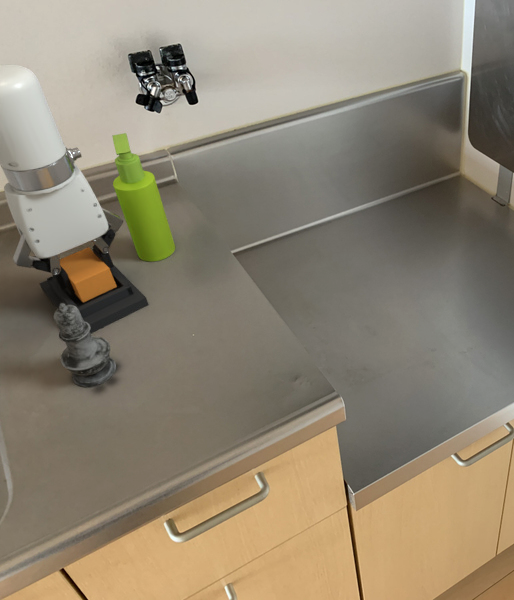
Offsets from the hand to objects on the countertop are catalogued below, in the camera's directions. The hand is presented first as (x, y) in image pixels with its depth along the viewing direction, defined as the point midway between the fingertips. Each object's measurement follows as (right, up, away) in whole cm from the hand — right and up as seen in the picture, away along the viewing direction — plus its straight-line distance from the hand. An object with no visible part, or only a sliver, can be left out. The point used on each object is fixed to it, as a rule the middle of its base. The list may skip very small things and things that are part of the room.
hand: (88, 280), depth 89 cm
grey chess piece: (+5, -12, -9) cm, 16 cm away
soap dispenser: (+6, +5, +11) cm, 13 cm away
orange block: (0, 0, 0) cm, 1 cm away
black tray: (0, -3, +2) cm, 3 cm away
